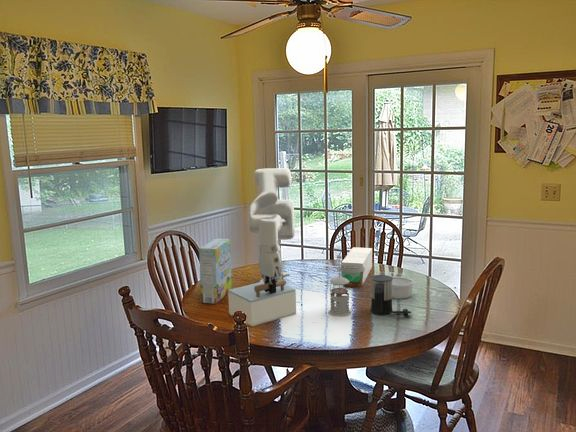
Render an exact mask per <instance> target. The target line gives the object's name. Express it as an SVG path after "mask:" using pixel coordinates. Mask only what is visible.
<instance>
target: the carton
mask: <svg viewBox="0 0 576 432" xmlns="http://www.w3.org/2000/svg"><path fill="white" fill-rule="evenodd" d="M227 295H228V298H227V299H228V314H229V315H230V316H232V315H233V313H234V312H236V311H242V312H244V313H246V315H247V319H246V323H245V324H246V325H248V326H250V327H252V328H253V327H257V326H259V325H263V324H265V323H270V322H272V321H276V320H279V319H280V320H281V319H283V318H287V317H290V316H294V315H296V314H297V297H296V296H297V294H296V291H292V292H289V293H285V294H281V295H277V296H274V297H270V298H266V299H262V300H258V301H255V302H249V301H247V300H245V299H243V298H241V297H239V296H237V295H235V294H233V293H231V292H228V293H227Z"/></svg>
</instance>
